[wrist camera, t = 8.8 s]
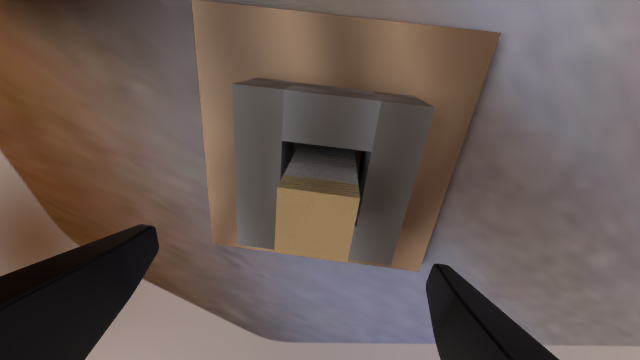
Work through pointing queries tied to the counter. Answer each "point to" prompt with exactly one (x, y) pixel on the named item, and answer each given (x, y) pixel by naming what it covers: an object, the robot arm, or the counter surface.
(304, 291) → the counter surface
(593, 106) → the counter surface
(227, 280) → the counter surface
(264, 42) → the stand
